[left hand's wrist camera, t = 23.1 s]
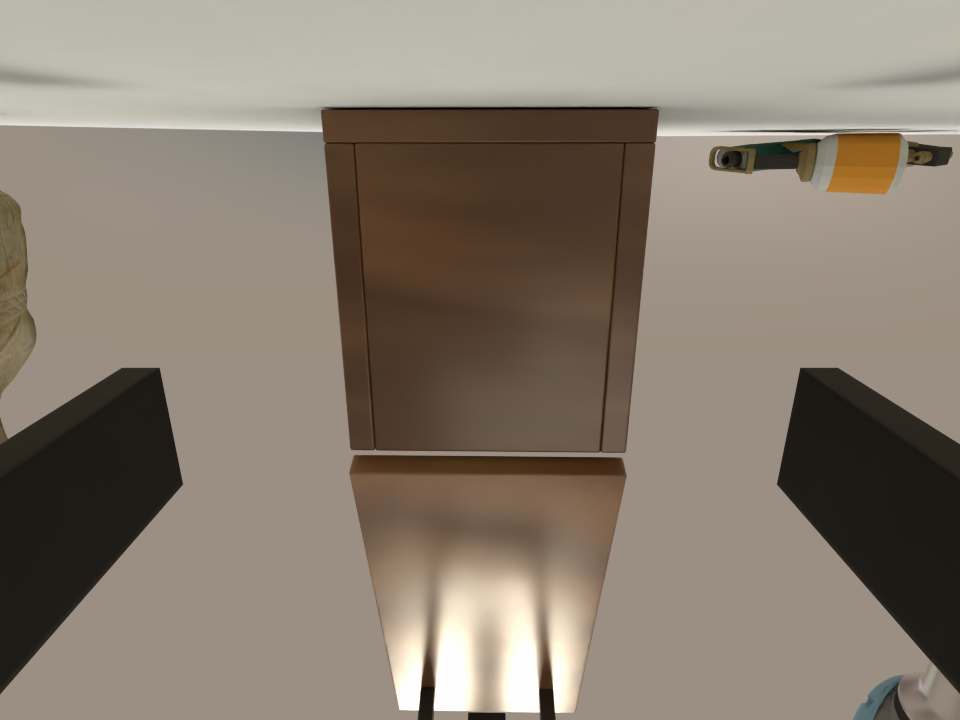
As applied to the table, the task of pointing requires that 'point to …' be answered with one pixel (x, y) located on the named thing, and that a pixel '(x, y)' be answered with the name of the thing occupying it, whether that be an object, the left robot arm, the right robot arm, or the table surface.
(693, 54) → the table surface
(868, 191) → the spray gun
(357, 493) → the lid
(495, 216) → the chest
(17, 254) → the sculpture
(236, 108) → the table surface
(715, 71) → the table surface
